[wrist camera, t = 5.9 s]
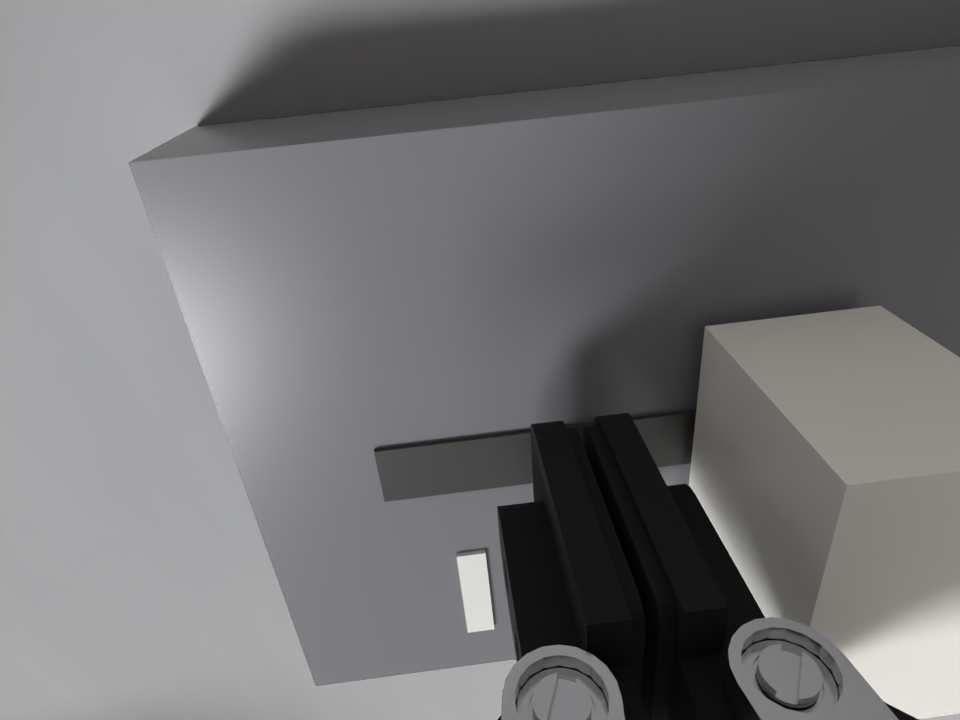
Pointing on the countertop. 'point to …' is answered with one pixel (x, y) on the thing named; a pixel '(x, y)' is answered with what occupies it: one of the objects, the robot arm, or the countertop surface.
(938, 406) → the fader knob
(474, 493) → the fader console
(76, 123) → the countertop surface
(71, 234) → the countertop surface
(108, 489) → the countertop surface
